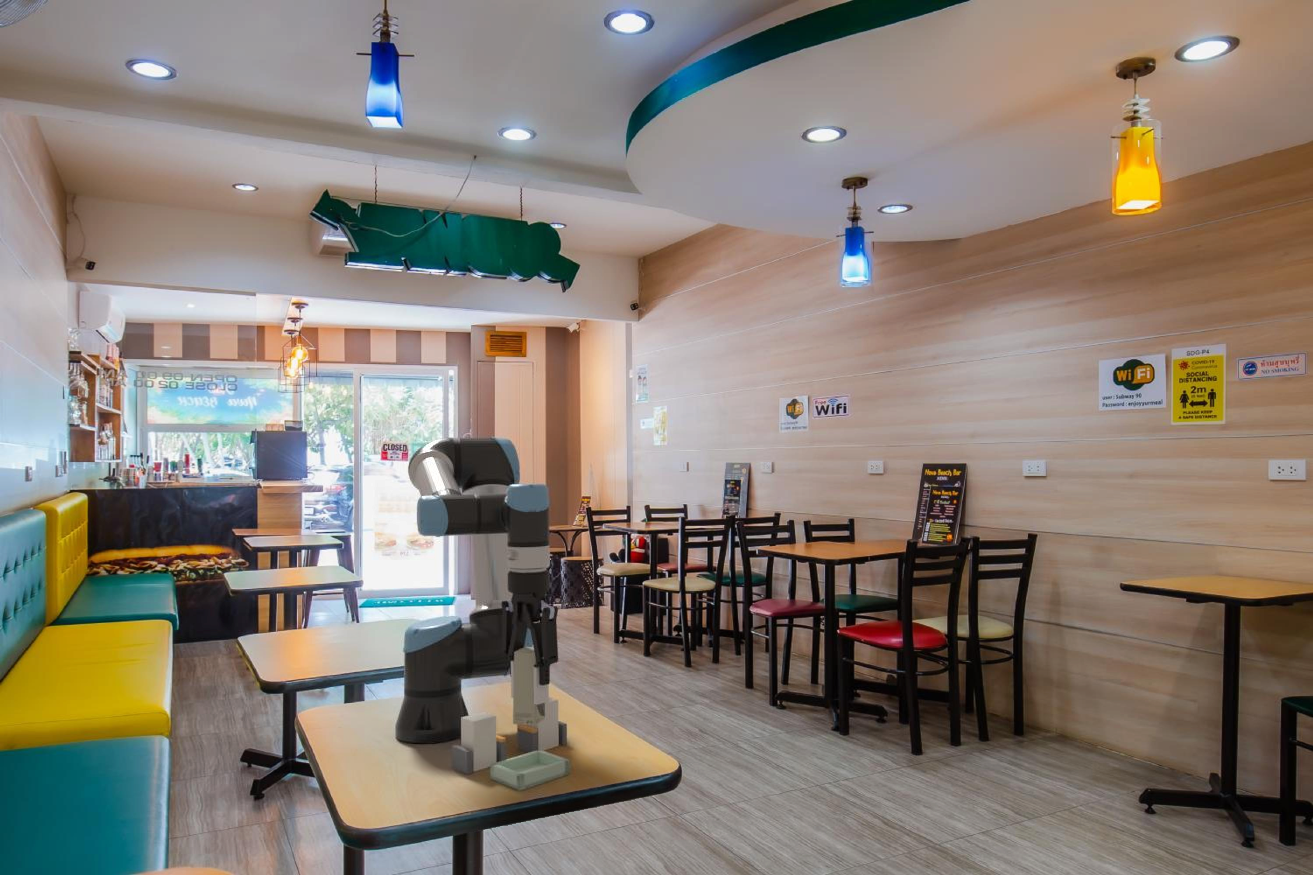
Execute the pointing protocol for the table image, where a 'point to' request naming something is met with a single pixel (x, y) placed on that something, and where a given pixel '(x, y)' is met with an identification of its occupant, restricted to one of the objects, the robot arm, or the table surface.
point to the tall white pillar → (548, 727)
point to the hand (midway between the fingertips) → (529, 699)
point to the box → (525, 689)
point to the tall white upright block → (480, 739)
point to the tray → (529, 769)
